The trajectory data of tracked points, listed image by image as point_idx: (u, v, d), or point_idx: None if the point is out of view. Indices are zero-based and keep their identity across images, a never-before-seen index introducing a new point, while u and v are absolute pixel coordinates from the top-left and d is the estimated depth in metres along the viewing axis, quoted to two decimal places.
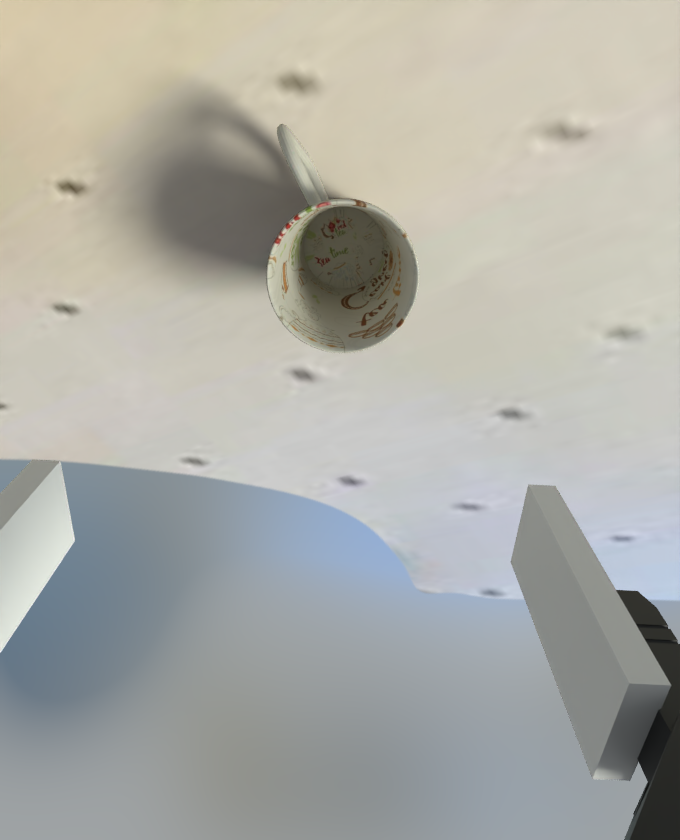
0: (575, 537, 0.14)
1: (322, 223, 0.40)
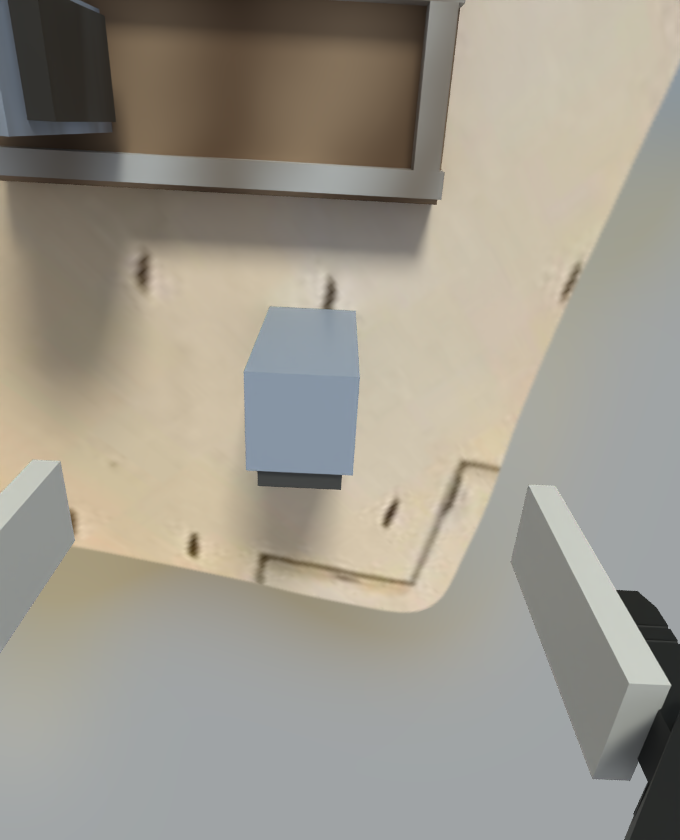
0: (575, 537, 0.14)
1: None
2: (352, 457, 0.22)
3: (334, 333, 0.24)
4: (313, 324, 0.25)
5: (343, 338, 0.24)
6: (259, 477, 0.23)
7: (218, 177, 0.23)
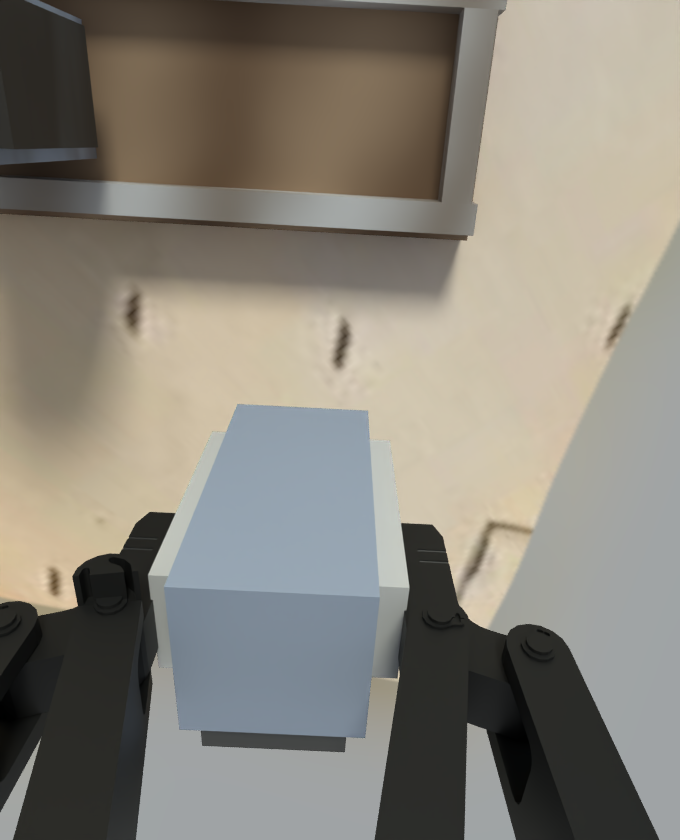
0: (386, 480, 0.16)
1: None
2: (365, 713, 0.12)
3: (335, 467, 0.15)
4: (302, 446, 0.16)
5: (349, 481, 0.14)
6: (204, 734, 0.13)
7: (216, 209, 0.20)
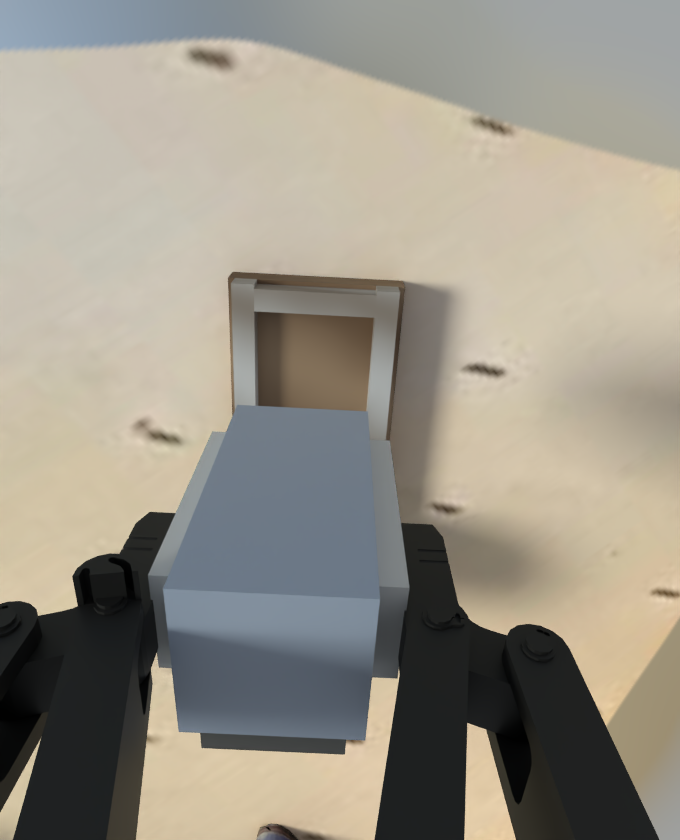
0: (386, 480, 0.16)
1: None
2: (365, 716, 0.12)
3: (335, 468, 0.15)
4: (301, 447, 0.16)
5: (349, 482, 0.14)
6: (203, 736, 0.13)
7: None
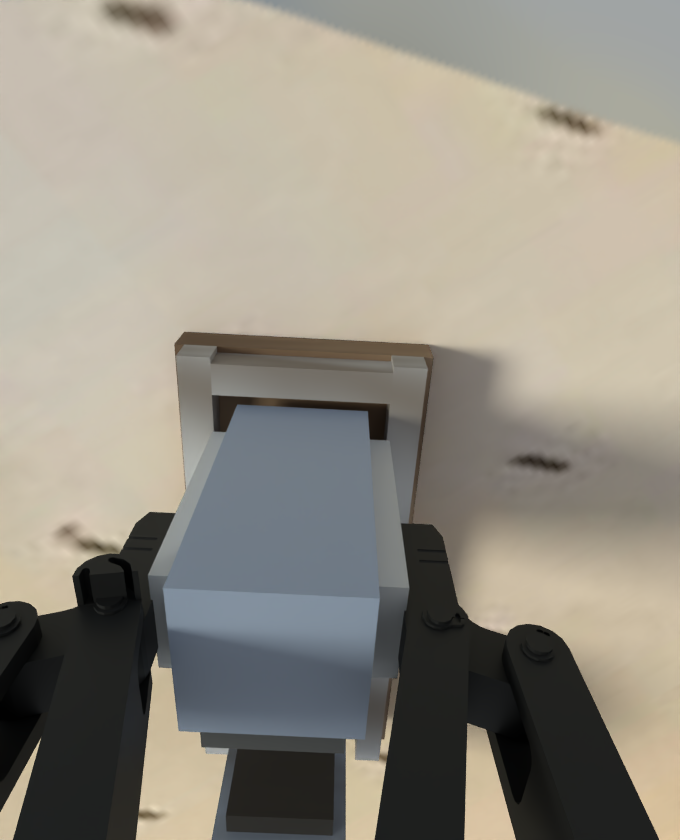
0: (386, 480, 0.16)
1: None
2: (364, 715, 0.12)
3: (335, 468, 0.15)
4: (301, 446, 0.16)
5: (349, 481, 0.14)
6: (203, 735, 0.13)
7: None
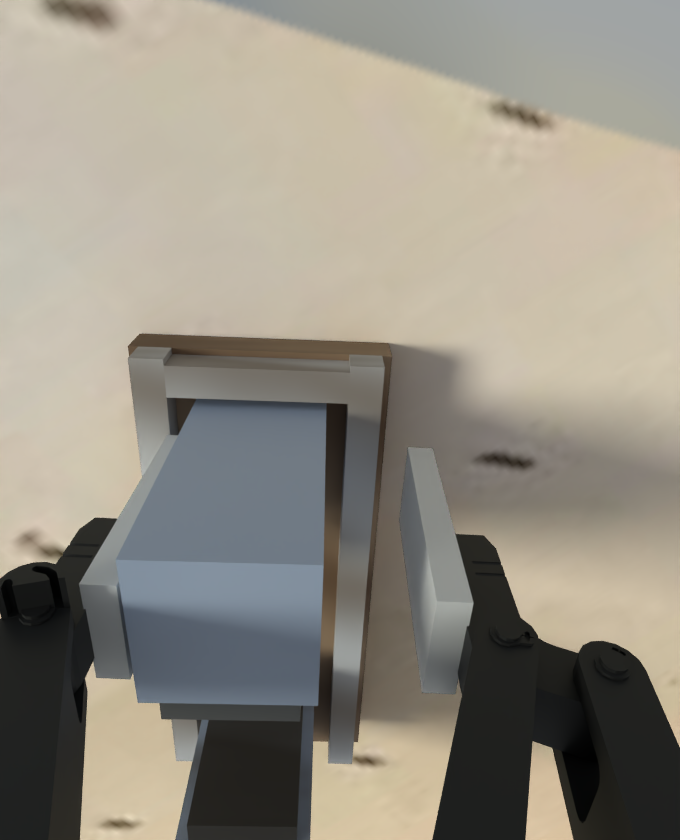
0: (434, 489, 0.16)
1: None
2: (316, 681, 0.13)
3: (290, 449, 0.15)
4: (259, 431, 0.16)
5: (302, 461, 0.15)
6: (163, 707, 0.13)
7: (355, 596, 0.21)
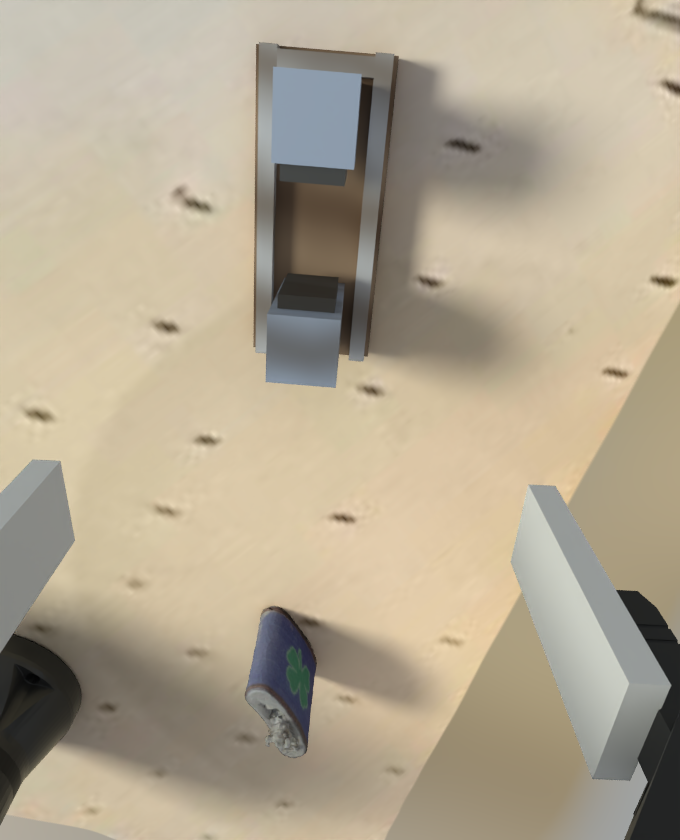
0: (575, 537, 0.14)
1: None
2: (354, 152, 0.28)
3: None
4: None
5: None
6: (281, 172, 0.29)
7: (371, 220, 0.36)
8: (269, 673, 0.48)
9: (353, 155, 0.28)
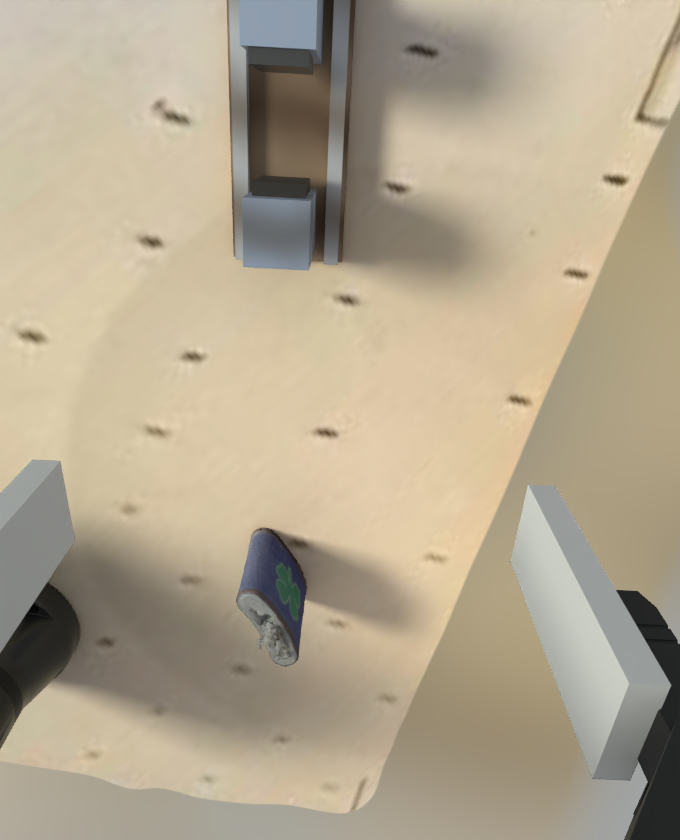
0: (575, 537, 0.14)
1: None
2: (315, 31, 0.31)
3: None
4: None
5: None
6: (249, 55, 0.31)
7: (338, 121, 0.39)
8: (259, 581, 0.50)
9: (314, 35, 0.31)
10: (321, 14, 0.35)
